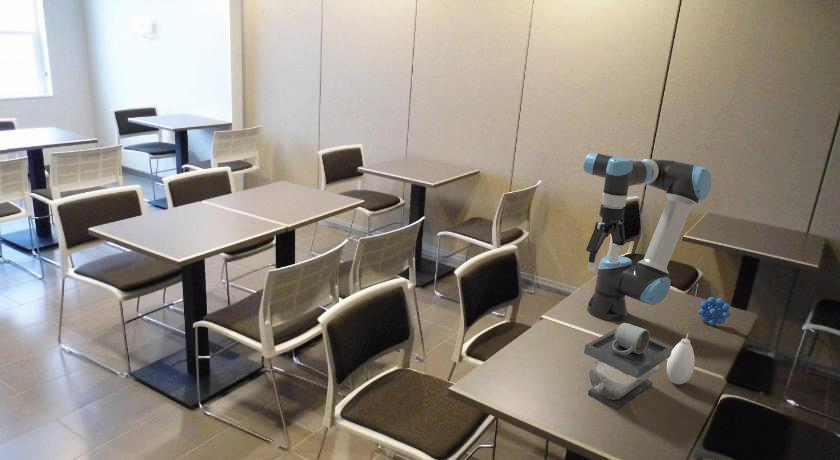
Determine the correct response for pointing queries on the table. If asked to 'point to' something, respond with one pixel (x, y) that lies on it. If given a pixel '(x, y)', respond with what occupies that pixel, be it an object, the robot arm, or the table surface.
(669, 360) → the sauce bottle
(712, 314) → the grapes
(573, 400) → the table surface
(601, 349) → the grey piece
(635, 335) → the ceramic mug
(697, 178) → the robot arm
